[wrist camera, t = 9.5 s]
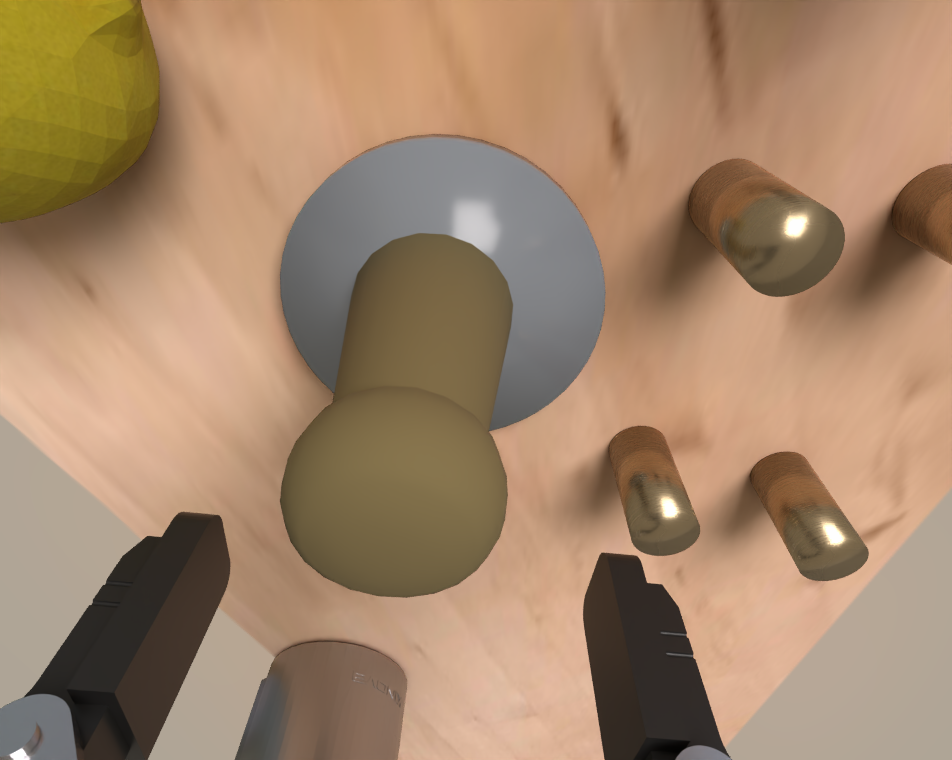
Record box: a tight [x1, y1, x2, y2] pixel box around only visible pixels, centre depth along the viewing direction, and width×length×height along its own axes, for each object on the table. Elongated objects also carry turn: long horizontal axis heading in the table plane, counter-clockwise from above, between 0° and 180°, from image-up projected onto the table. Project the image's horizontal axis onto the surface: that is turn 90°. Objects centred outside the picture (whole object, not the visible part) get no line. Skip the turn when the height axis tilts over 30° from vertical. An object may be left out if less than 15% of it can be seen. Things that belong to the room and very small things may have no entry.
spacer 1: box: [609, 426, 700, 556], centre depth 23 cm, size 3×3×5 cm
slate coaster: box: [280, 134, 605, 431], centre depth 21 cm, size 12×12×1 cm
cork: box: [280, 233, 513, 598], centre depth 16 cm, size 6×6×11 cm
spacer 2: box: [689, 159, 845, 297], centre depth 17 cm, size 3×3×5 cm
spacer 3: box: [750, 452, 869, 581], centre depth 24 cm, size 3×3×5 cm
